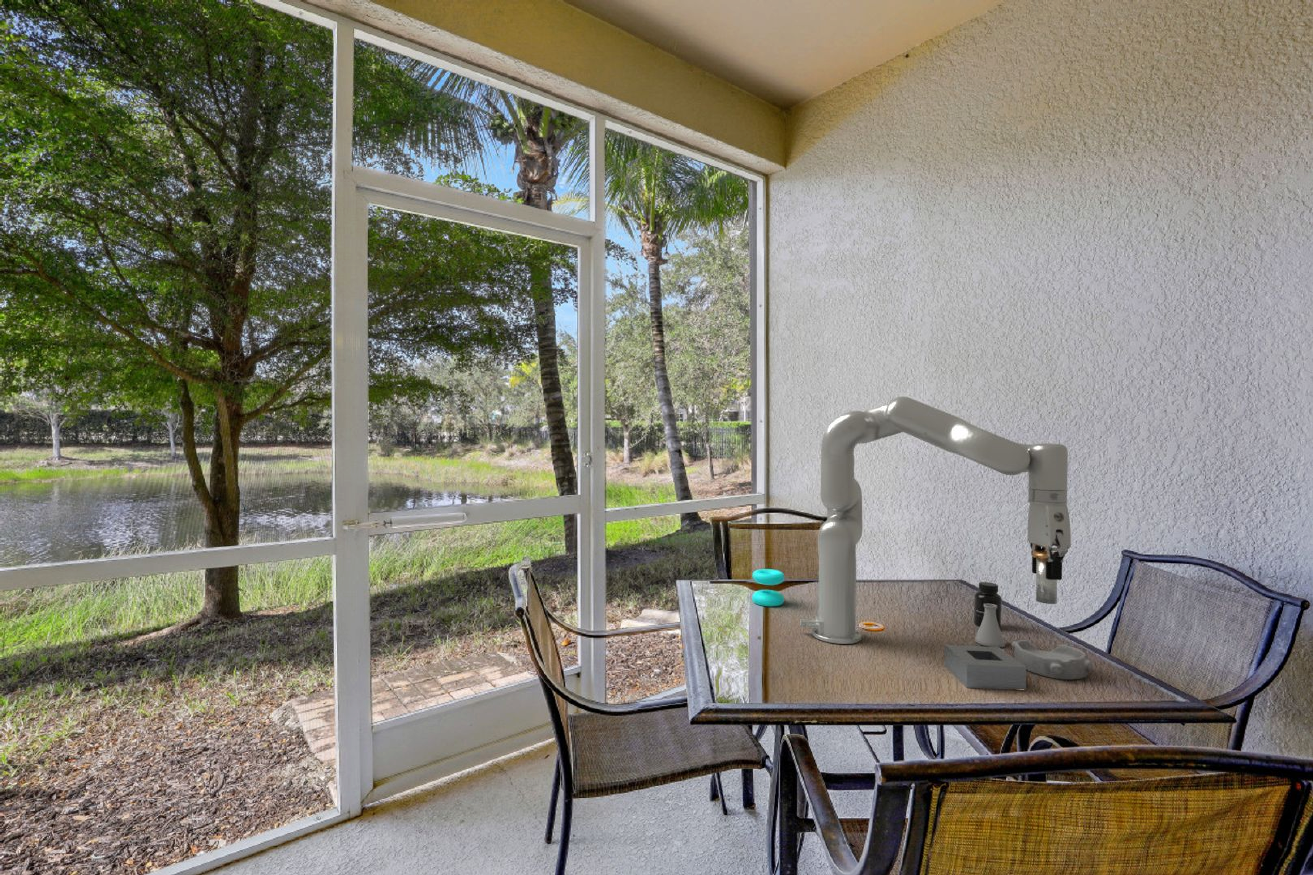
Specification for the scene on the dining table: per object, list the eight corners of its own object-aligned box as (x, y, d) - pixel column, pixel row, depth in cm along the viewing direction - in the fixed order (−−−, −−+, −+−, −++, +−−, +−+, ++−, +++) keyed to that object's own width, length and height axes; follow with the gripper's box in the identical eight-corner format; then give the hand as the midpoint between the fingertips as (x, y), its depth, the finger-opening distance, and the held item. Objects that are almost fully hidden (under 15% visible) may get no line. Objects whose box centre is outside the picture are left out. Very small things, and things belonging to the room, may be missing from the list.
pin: (1065, 605, 136) (1065, 555, 136) (1040, 604, 137) (1040, 554, 137) (1052, 598, 142) (1052, 550, 142) (1028, 598, 142) (1028, 550, 142)
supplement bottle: (975, 627, 170) (975, 585, 170) (972, 621, 176) (973, 579, 176) (1002, 631, 168) (1003, 587, 167) (999, 624, 174) (1000, 582, 174)
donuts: (788, 575, 187) (757, 575, 186) (788, 607, 188) (756, 607, 186) (778, 567, 197) (748, 568, 196) (778, 598, 197) (748, 598, 196)
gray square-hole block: (966, 687, 129) (967, 664, 129) (944, 666, 141) (945, 644, 141) (1025, 690, 128) (1026, 667, 128) (998, 668, 140) (999, 647, 140)
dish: (1003, 658, 148) (1003, 637, 147) (1061, 659, 147) (1061, 639, 147) (1038, 682, 133) (1039, 659, 133) (1103, 684, 133) (1104, 661, 133)
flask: (1010, 649, 153) (1010, 609, 153) (979, 647, 155) (979, 607, 155) (999, 639, 160) (1000, 602, 160) (970, 637, 162) (970, 600, 162)
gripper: (1087, 501, 130) (1086, 586, 130) (1044, 494, 147) (1043, 568, 147) (1050, 501, 131) (1049, 584, 131) (1012, 493, 148) (1011, 567, 148)
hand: (1046, 575), depth 139 cm, fingers closed on pin, 5 cm apart
